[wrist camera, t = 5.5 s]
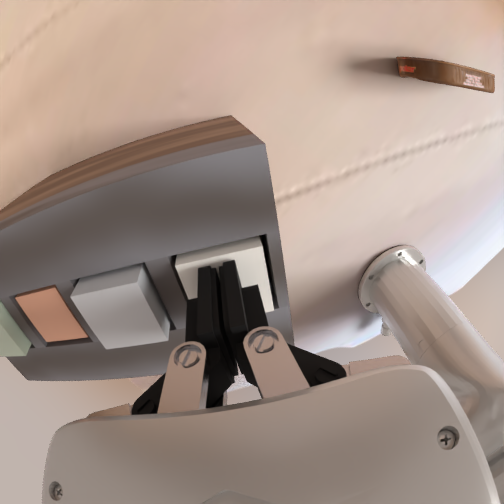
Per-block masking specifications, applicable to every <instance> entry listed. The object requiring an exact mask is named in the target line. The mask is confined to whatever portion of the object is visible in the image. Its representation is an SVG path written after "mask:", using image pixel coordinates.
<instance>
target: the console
mask: <svg viewBox="0 0 504 504" xmlns="http://www.w3.org/2000/svg"><path fill="white" fill-rule="evenodd" d="M255 236H259V237H260V240H261V243H262V246H263V252H264V257H265V263H266V268H267V273H268V279H269V284H270V290H271V295H272V301H273V307H274V311H271V312H266V317H267V321H268V325H269V327H273V328H275V329H277V330H279V332H280V333H281V334H282V336H283V338H284V339H285V341H286V343H288V344H290V345H293V346H294V338H293V330H292V322H291V314H290V306H289V298H288V290H287V283H286V275H285V268H284V261H283V254H282V247H281V240H280V233H279V226H278V220H277V213H276V207H275V200H274V194H273V188H272V182H271V176H270V170H269V164H268V158H267V152H266V146H265V143H264V142H263V141H261V140H260V139H259V138H258V137H257V136H256V135H254V134H253V133H252V132H251V131H250V130H248V129H247V128H246V127H245V126H244V125H242V124H241V123H240V122H239V121H237V120H236V119H235V118H234V117H233V116H227V117H222V118H217V119H213V120H208V121H204V122H200V123H196V124H192V125H188V126H184V127H181V128H177V129H173V130H170V131H166V132H163V133H160V134H156V135H153V136H150V137H147V138H143V139H140V140H137V141H134V142H131V143H129V144H126V145H123V146H120V147H117V148H114V149H112V150H109V151H106V152H104V153H101V154H99V155H96V156H94V157H91V158H89V159H86V160H84V161H82V162H79V163H77V164H74V165H72V166H70V167H68V168H65V169H63V170H61V171H59V172H57V173H55V174H53V175H50V176H49V177H47V178H46V179H44V180H43V181H41V182H40V183H38V184H37V185H35V186H34V187H32V188H31V189H29V190H28V191H27V192H25V193H24V194H22V195H21V196H20V197H18V198H17V199H15V200H14V201H13V202H11V203H10V204H9V205H8V206H6V207H5V208H4V209H2V210H1V211H0V300H1V302H2V303H3V305H4V306H5V308H6V309H7V311H8V312H9V313H10V315H11V316H12V318H13V319H14V320H15V322H16V323H17V325H18V326H19V327H20V329H21V330H22V331H23V333H24V334H25V335H26V336H27V338H28V339H29V340H30V341H31V343H32V344H31V346H30V348H29V350H28V353H27V355H26V356H8V357H7V358H8V360H9V361H10V362H11V363H12V364H13V365H14V366H15V367H16V368H17V370H18V371H20V373H21V374H22V375H23V376H24V377H25V378H26V379H27V380H37V381H40V380H41V381H82V380H105V379H119V378H133V377H143V376H153V375H162V374H165V373H166V371H167V367H168V363H169V358H170V355H171V353H172V351H173V350H174V349H175V348H176V347H177V346H178V345H180V344H182V343H184V342H185V331H186V309H187V300H189V299H188V297H187V294H186V292H185V290H184V287H183V285H182V282H181V280H180V277H179V275H178V272H177V270H176V267H175V263H176V257H177V254H181V253H185V252H189V251H193V250H198V249H202V248H206V247H211V246H215V245H219V244H224V243H228V242H232V241H237V240H241V239H246V238H250V237H255ZM143 262H145V264H146V266H147V268H148V271H149V273H150V275H151V277H152V279H153V282H154V284H155V286H156V288H157V290H158V292H159V295H160V297H161V299H162V301H163V303H164V305H165V307H166V309H167V311H168V313H169V315H170V317H171V319H170V328H169V338H168V341H163V342H157V343H150V344H144V345H137V346H129V347H122V348H114V349H105V347H104V346H103V345H102V343H101V342H100V340H99V339H98V338H97V336H96V335H95V334H94V332H93V331H92V329H91V328H90V326H89V325H88V324H87V322H86V321H85V319H84V318H83V316H82V315H81V313H80V312H79V310H78V308H77V307H76V305H75V304H74V302H73V301H72V299H71V297H70V296H71V294H72V292H73V290H74V289H75V287H76V285H77V283H78V281H79V279H80V278H82V277H86V276H90V275H94V274H98V273H102V272H106V271H110V270H114V269H118V268H122V267H126V266H130V265H134V264H139V263H143ZM54 284H55V285H56V287H57V288H58V290H59V292H60V293H61V295H62V297H63V298H64V300H65V301H66V303H67V305H68V306H69V308H70V309H71V311H72V312H73V314H74V315H75V317H76V318H77V320H78V321H79V323H80V324H81V325H82V327H83V328H84V330H85V331H86V332H87V334H88V335H89V336H88V337H86V338H78V339H70V340H61V341H52V342H46V341H45V339H44V338H43V337H42V335H41V334H40V333H39V332H38V330H37V329H36V328H35V326H34V325H33V323H32V322H31V321H30V319H29V318H28V317H27V315H26V314H25V312H24V311H23V309H22V308H21V306H20V305H19V303H18V302H17V300H16V299H15V297H16V296H17V294H20V293H23V292H27V291H31V290H35V289H39V288H43V287H46V286H50V285H54Z"/></svg>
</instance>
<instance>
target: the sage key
mask: <svg viewBox="0 0 504 504" xmlns="http://www.w3.org/2000/svg"><path fill="white" fill-rule="evenodd" d="M31 344H32V343H31V341H30V340H29V339H28V338H27V336H26V335H25V334H24V333H23V331H22V330H21V329H20V327H19V326H18V325H17V323H16V322H15V320H14V319H13V318H12V316H11V315H10V313H9V312H8V311H7V309H6V308H5V306H4V305H3V303H2V302H1V300H0V357H8V356H26V355H27V353H28V350H29V348H30V346H31Z"/></svg>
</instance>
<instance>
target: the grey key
mask: <svg viewBox="0 0 504 504" xmlns="http://www.w3.org/2000/svg"><path fill="white" fill-rule="evenodd" d="M70 297H71V299H72V301H73V302H74V304H75V305H76V307H77V308H78V310H79V312H80V313H81V315H82V316H83V318H84V319H85V321H86V322H87V324H88V325H89V326H90V328H91V329H92V331H93V332H94V334H95V335H96V336H97V338H98V339H99V340H100V342H101V343H102V345H103V346H104V347H105V349H114V348H122V347H129V346H137V345H144V344H150V343H157V342H163V341H168V338H169V328H170V319H171V317H170V315H169V313H168V311H167V309H166V307H165V305H164V303H163V301H162V299H161V297H160V295H159V292H158V290H157V288H156V286H155V284H154V282H153V279H152V277H151V275H150V273H149V271H148V268H147V266H146V264H145V262H143V263H139V264H134V265H130V266H126V267H122V268H118V269H114V270H110V271H106V272H102V273H98V274H94V275H90V276H86V277H82V278H80V279H79V281H78V283H77V285H76V287H75V289H74V290H73V292H72V294H71V296H70Z"/></svg>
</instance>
